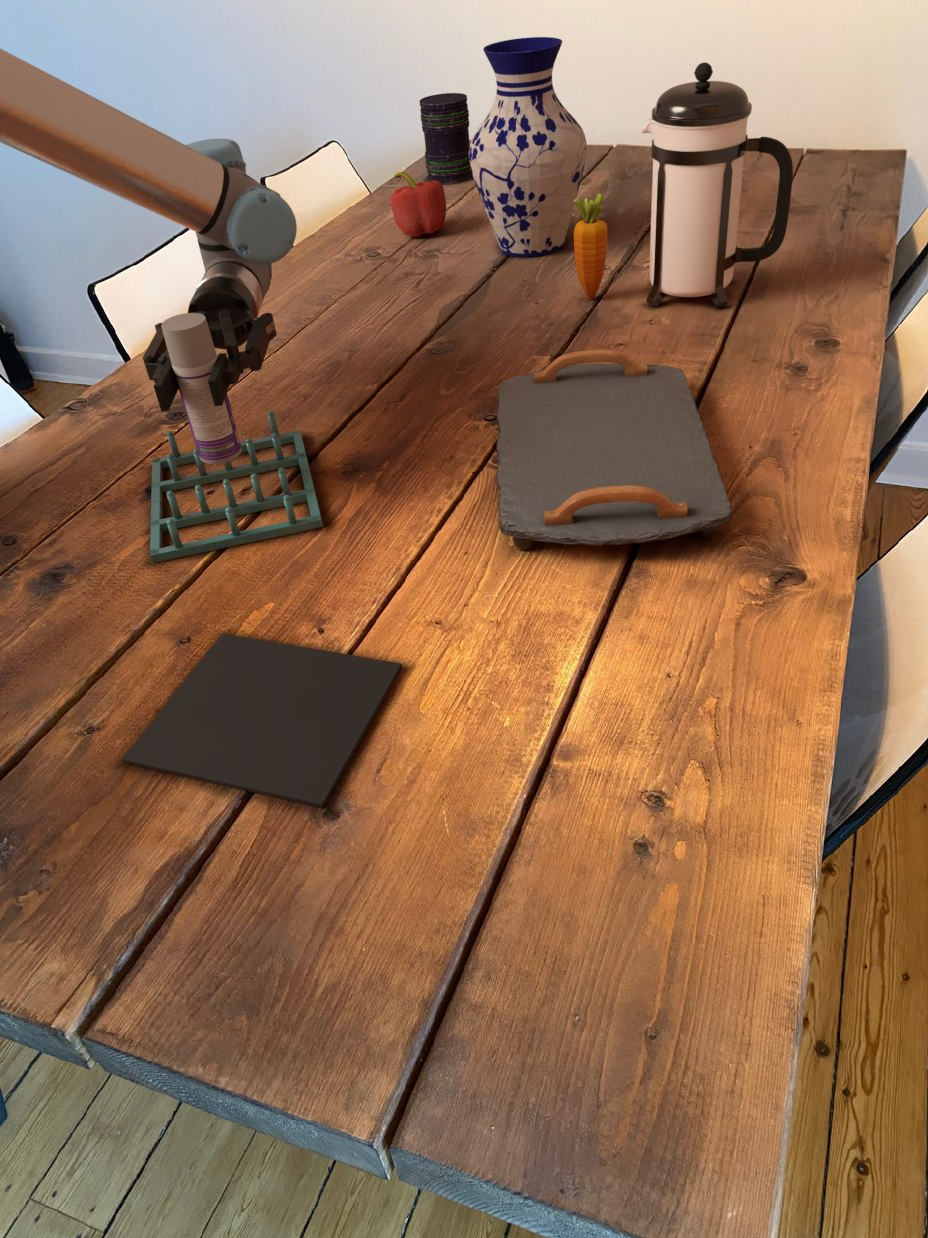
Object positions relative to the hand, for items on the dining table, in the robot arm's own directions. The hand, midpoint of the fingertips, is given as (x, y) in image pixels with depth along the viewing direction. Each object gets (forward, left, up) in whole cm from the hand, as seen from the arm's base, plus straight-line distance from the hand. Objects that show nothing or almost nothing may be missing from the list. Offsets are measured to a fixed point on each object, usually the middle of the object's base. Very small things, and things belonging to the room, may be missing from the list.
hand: (188, 395), depth 94 cm
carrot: (+21, +67, -15) cm, 72 cm away
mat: (+21, -24, -15) cm, 35 cm away
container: (-2, +5, -10) cm, 11 cm away
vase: (+4, +88, -15) cm, 89 cm away
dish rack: (-2, +5, -15) cm, 16 cm away
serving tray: (+36, +22, -15) cm, 45 cm away
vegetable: (-19, +92, -15) cm, 95 cm away
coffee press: (+36, +72, -15) cm, 82 cm away
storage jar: (-28, +126, -15) cm, 130 cm away
